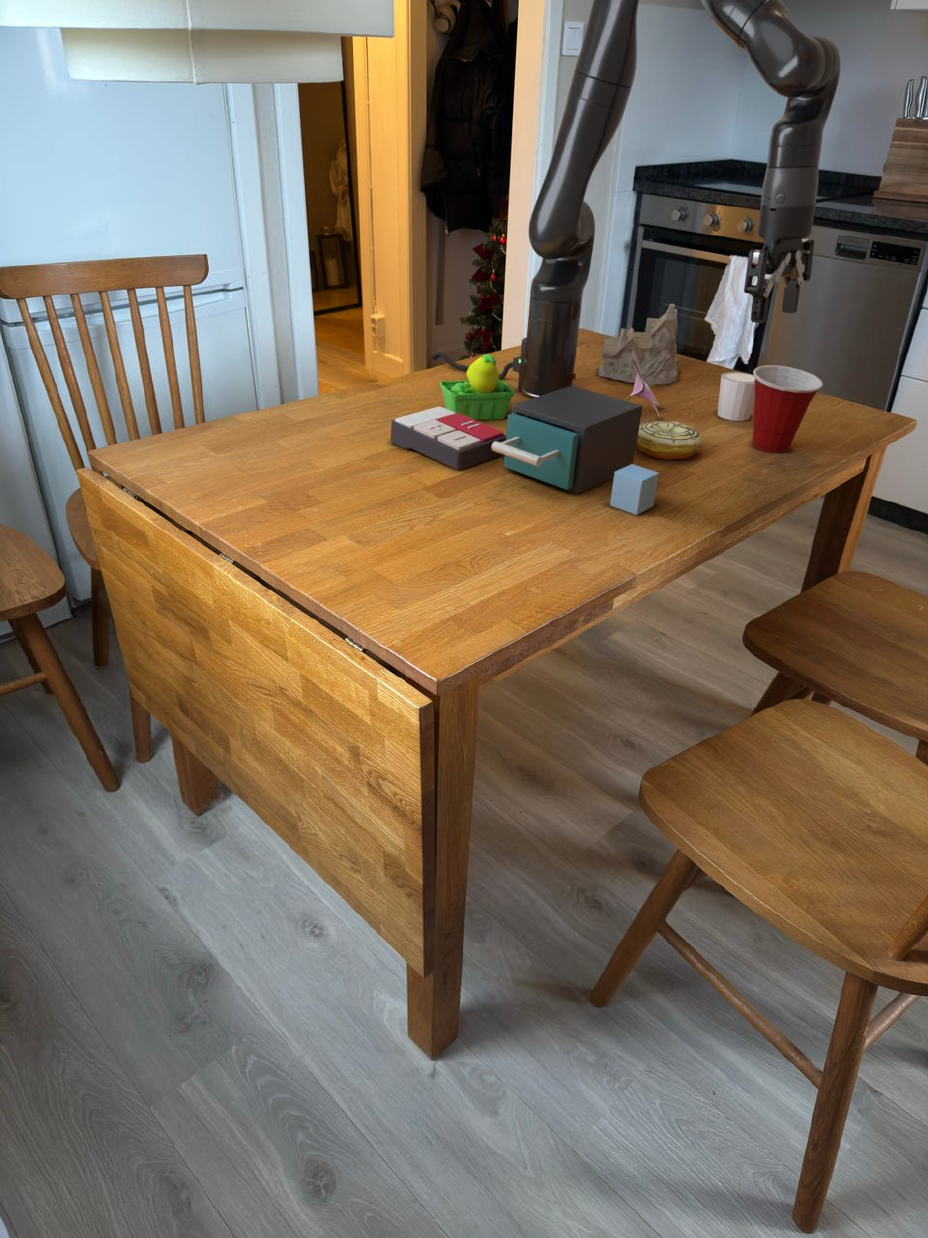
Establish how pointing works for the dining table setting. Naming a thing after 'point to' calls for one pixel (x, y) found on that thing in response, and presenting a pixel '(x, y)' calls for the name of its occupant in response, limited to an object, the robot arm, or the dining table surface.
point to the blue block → (634, 489)
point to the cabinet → (590, 430)
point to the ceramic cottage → (644, 352)
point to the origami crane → (643, 389)
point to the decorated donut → (668, 440)
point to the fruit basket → (479, 392)
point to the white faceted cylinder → (736, 396)
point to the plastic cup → (780, 405)
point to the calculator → (446, 437)
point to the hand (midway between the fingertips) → (773, 317)
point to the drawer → (540, 450)
